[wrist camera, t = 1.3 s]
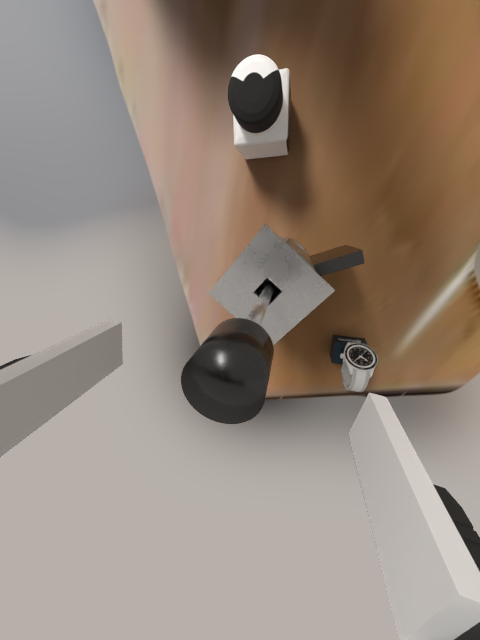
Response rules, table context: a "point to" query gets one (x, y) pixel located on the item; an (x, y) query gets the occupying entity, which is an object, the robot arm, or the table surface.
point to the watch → (353, 361)
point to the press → (281, 279)
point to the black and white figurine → (260, 107)
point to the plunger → (233, 366)
